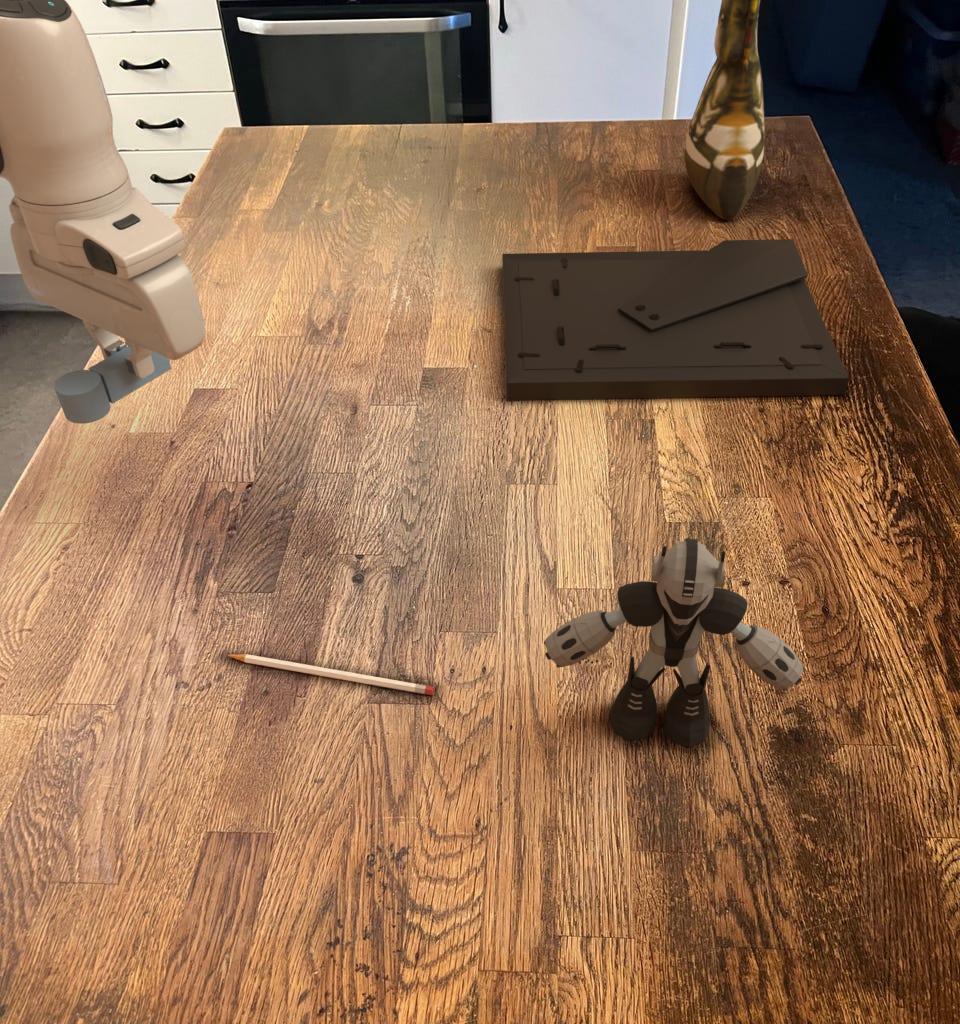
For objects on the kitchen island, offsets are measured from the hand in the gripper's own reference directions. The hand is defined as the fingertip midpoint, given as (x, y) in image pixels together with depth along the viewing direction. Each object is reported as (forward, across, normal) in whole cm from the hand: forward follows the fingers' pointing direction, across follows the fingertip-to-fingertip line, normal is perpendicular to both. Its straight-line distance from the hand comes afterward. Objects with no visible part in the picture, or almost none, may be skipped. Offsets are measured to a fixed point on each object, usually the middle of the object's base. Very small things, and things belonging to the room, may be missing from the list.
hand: (130, 367), depth 91 cm
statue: (+16, +14, +95) cm, 97 cm away
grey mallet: (+2, 0, -2) cm, 2 cm away
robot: (+16, +55, +3) cm, 57 cm away
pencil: (+16, +29, -8) cm, 34 cm away
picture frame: (+16, +24, +58) cm, 65 cm away
